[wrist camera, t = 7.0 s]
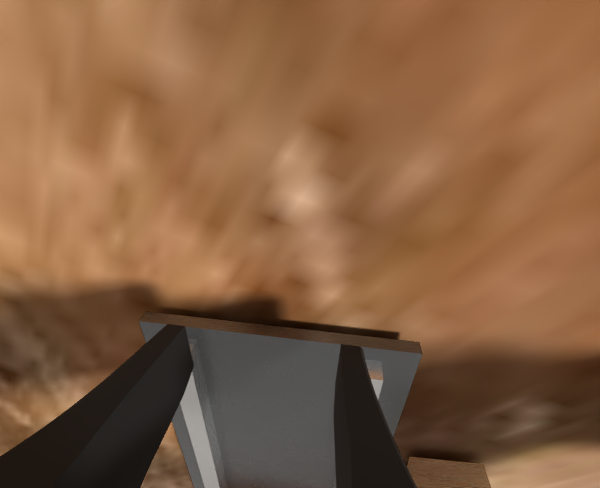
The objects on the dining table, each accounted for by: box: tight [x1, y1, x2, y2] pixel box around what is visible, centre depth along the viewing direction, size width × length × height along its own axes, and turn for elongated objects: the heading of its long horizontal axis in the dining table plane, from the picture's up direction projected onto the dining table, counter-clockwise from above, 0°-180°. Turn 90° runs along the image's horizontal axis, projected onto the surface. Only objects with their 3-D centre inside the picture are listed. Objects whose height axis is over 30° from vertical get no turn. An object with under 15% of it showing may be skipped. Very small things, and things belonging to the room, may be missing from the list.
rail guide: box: [139, 312, 422, 488], centre depth 19 cm, size 12×21×3 cm, turn 178°
